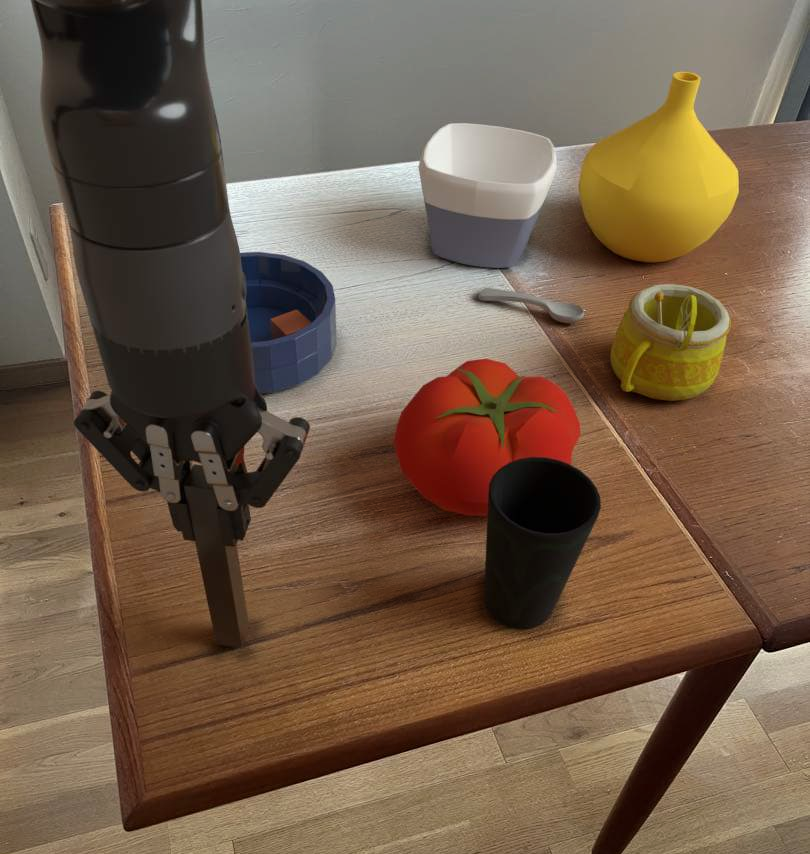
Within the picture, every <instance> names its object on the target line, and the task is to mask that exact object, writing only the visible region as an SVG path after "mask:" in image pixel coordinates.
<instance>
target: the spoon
mask: <svg viewBox="0 0 810 854" xmlns="http://www.w3.org/2000/svg"><path fill="white" fill-rule="evenodd" d="M478 299H479V300H480V301H482V302H483V301H484V302H487V301H491V302H494V301H495V302H497V301H498V302H500V301H501V302H514V303H522V304H528V305H529V304H530V305H534V306H537V307H539V308H542V309H543V310H545V311H546V312H547V313H548V314H549V316H550V317H551V318H552V319H553V320H555V321H556V322H559V323H563V324H575V323H577V322H580V321H582V319H584V317H585V310H584V309H583V308H582V306H580V305H577V304H575V303H572V302H566V301H557V302H555V301H551V300H548V299H545V298H542V297H540V296H536V295H532V294H528V293H525V292H520V291H513V290H506V289H498V288H493V287H492V288H491V287H486V288H485V287H484V288H483V289H482V290H481V291H480V292H479V294H478Z"/></svg>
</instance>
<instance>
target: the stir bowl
mask: <svg viewBox="0 0 810 854" xmlns="http://www.w3.org/2000/svg"><path fill="white" fill-rule="evenodd" d="M240 256H241V263H242V271H243V273H244V275H245V278H246V286H247V296H246V305H247V313H248V321H249V329H250V338H251V346H252V354H253V362H254V375H255V384H256V387H257V389H258V391H259V392H260V394H265V393H275V392H278V391H281V390H285V389H288V388H292V387H295V386H299V385H301V384H302V383H304V382H306V381H308V380H310V379H312V378H313V377H315V376H317V375H319V373H320V372H321V371H322V370H323V369H324V368H325V367H326V366H327V365H328V364H329V362H330V361H332V358H333V356H334V352H335V349H336V347H337V311H336V309H337V307H336V296H335V291H334V290H335V289H334V286H333V284H332V282H331V281H330V280H329V278H328V277H327V276H326V275H325V274H324V273H323V271H321V270H320V269H318V268H316V267H315V266H313V265H311V264H310V263H308V262H307V261H305V260H302V259H298V258H296V257H292V256H289V255H285V254H280V253H272V252H263V251H250V252H247V251H246V252H240ZM294 310H298V311H299V312H300V313H302V314H303V315H304V316H305V317H306V318H307V319H308V320H309V321H310V322H311V324H310V325H309V326H307V327H305V328H303V329H301V330H299V331H297V332H295V333H293V334H291V335H289V336H285V337H281V338H277V339H273V340H272V334H271V324H270V319H271V318H274V317H277V316H280V315H283V314H286V313H288V312H291V311H294Z"/></svg>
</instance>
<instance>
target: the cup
mask: <svg viewBox="0 0 810 854" xmlns="http://www.w3.org/2000/svg"><path fill="white" fill-rule="evenodd" d="M601 503H602V502H601V495H600V493H599V490H598V488H597V486H596V485H595V483H594V482H593V481H592V479H591V478H590V477H589V476H587V475H586V474H585V473H584V472H583V471H581V470H580V469H578V468H577V467H575V466H573V465H572V464H571V465H570V464H568V463H565V462H562V461H559V460H556V459H551V458H546V457H529V458H522V459H518V460H515V461H512V462H510V463H508V464H506V465H504V466H503V467H501V468H500V469H499V470H498V471H497V472H496V473H495V474H494V475H493V477H492V479H491V482H490V484H489V493H488V515H486V517H487V519H486V537H485V538H486V541H485V542H486V543H485V561H484V562H485V565H484V585H483V586H484V587H483V602H484V606H485V609H486V610H487V612H488V613H489V615H490V616H491V617H492V618H493V619H494V620H495V621H497V622H498V623H499V624H501V625H503V626H505V627H508V628H510V629H516V630H531V629H534V628H535V629H536V628H537V627H540V626H542V625H544V623H546V622H547V621H548V620H549V619H550V617H551V616H552V615H553V612H554V610H555V608H556V606H557V604H558V602H559V599H560V597H561V595H562V594H563V591H564V589H565V587H566V585H567V583H568V581H569V579H570V576H571V574H572V572H573V571H574V568H575V566H576V564H577V562H578V560H579V558H580V555H581V553H582V551H583V549H584V548H585V545H586V543H587V541H588V539H589V537H590V535H591V532H592V530H593V528H594V526H595V524H596V522H597V520H598V518H599V515H600V512H601V509H602V506H601Z"/></svg>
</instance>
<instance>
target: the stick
mask: <svg viewBox="0 0 810 854" xmlns="http://www.w3.org/2000/svg"><path fill="white" fill-rule="evenodd" d="M184 491H185V496H186V501H187V504H188V509H189V514H190V519H191V524H192V529H193V533H194V538H195V541H194V544H195V549H196V554H197V558H198V559H197V560H198V563H199V568H200V573H201V577H202V584H203V587H204V592H205V597H206V602H207V606H208V612H209V616H210V621H211V625H212V631H213V636H214V641H215V644H216V645H217V646H218V645H219V646H224V647H225V646H226V647H231V648H239V649H242V648H243V646H244V644H245V641H246V638H247V636H248V632H249V630H250V621H249V615H248V610H247V602H246V597H245V590H244V584H243V578H242V577H243V576H242V570H241V565H240V564H241V563H240V558H239V551H238V544H237V545H236V547H230V546H224V545H223V541H222V536H221V531H220V526H219V521H218V516H217V510H216V508H217V506H218V505H219V504H218V501H217V498H216V494H215V491H214V488H213V485H209V484H208V483H207V480H206V477H205V473H204V470H203V467H202V464H195V463H193V467H192V469H191V471H190V473H189V475H188V477H187V479H186V481H185V483H184Z"/></svg>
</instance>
